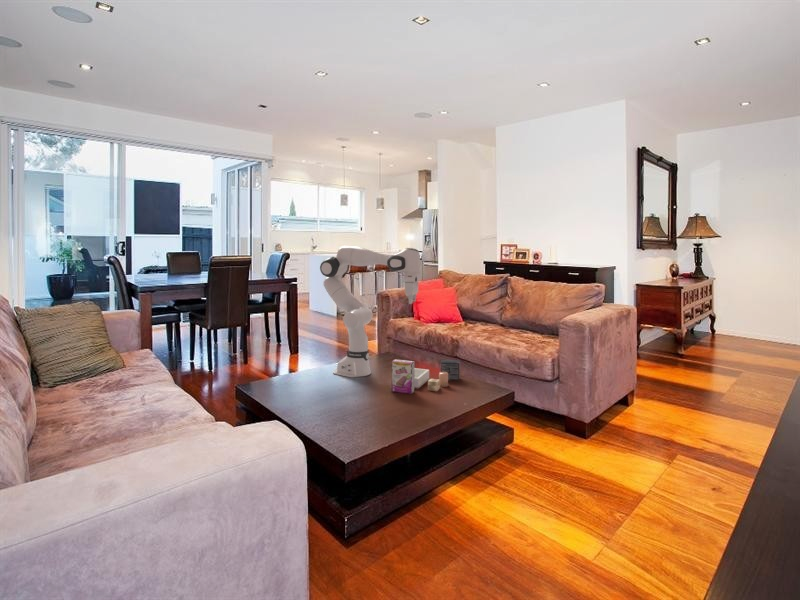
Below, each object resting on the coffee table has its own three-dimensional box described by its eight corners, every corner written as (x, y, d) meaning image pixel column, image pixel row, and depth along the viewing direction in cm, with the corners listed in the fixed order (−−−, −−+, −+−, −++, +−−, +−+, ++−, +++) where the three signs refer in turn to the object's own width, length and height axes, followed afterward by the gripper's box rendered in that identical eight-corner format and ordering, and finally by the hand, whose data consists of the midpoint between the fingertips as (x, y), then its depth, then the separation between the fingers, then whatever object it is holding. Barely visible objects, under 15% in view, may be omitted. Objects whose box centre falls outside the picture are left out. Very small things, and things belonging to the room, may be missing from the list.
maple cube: (427, 390, 238) (427, 381, 238) (430, 387, 243) (430, 378, 242) (436, 391, 236) (436, 382, 236) (439, 388, 241) (439, 379, 240)
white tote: (393, 385, 246) (393, 375, 245) (405, 376, 263) (405, 367, 262) (418, 388, 240) (418, 378, 240) (429, 379, 257) (429, 369, 257)
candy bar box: (391, 392, 235) (391, 361, 233) (394, 389, 240) (394, 358, 238) (411, 394, 231) (411, 363, 229) (414, 391, 236) (414, 360, 234)
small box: (459, 377, 261) (459, 360, 259) (459, 381, 254) (459, 362, 253) (440, 377, 262) (440, 359, 260) (440, 380, 255) (440, 362, 254)
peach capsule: (437, 386, 245) (437, 373, 244) (440, 383, 249) (440, 371, 248) (446, 387, 243) (446, 374, 242) (449, 384, 247) (449, 372, 246)
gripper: (410, 276, 259) (410, 300, 261) (402, 279, 239) (402, 304, 241) (421, 276, 258) (421, 300, 259) (414, 279, 238) (414, 305, 239)
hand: (412, 302), depth 250 cm, fingers open, 8 cm apart
